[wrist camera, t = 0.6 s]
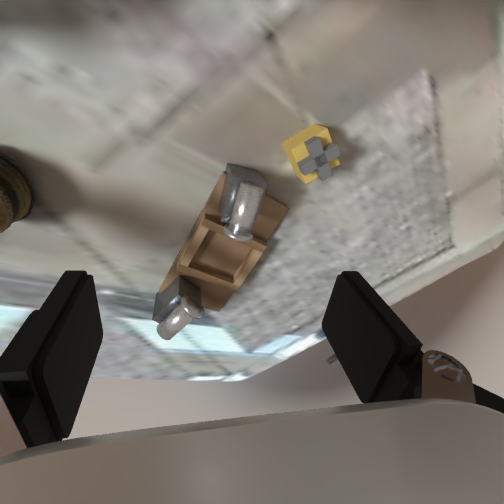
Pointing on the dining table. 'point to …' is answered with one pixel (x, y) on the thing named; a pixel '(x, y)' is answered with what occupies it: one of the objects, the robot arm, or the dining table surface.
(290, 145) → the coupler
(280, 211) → the bed
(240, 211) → the shaft
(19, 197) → the statue
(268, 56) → the dining table surface
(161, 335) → the shaft
